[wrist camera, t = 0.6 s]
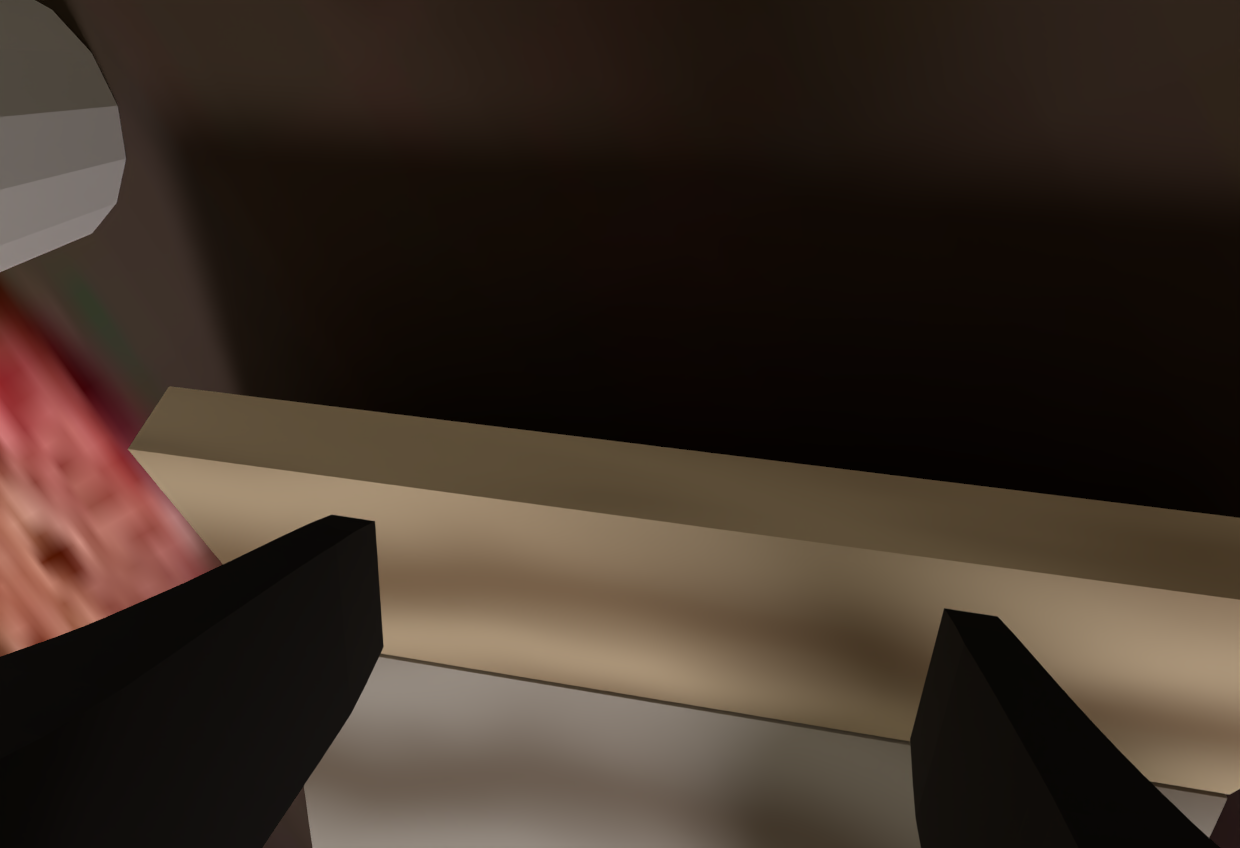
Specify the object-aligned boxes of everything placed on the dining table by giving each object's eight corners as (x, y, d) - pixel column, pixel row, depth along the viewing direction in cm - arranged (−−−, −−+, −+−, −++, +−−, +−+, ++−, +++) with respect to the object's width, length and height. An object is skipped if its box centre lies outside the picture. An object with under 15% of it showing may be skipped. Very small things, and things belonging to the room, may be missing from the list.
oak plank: (1213, 725, 20) (1229, 794, 19) (306, 584, 23) (283, 637, 22) (1471, 546, 13) (1514, 637, 12) (169, 386, 17) (128, 449, 16)
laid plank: (1102, 972, 23) (1121, 1028, 22) (338, 821, 27) (314, 862, 25) (1198, 747, 20) (1227, 798, 19) (313, 606, 23) (283, 641, 22)
